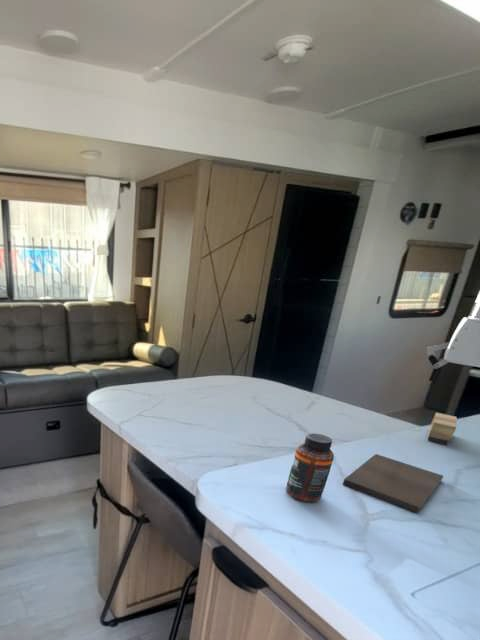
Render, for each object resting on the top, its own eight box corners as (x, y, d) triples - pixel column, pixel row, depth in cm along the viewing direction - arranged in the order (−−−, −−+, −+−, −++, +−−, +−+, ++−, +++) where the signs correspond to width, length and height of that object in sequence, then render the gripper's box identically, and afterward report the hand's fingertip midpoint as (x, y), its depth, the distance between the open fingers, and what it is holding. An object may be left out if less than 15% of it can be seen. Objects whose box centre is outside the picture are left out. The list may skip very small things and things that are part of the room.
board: (373, 458, 88) (375, 453, 88) (441, 481, 80) (443, 475, 80) (342, 484, 77) (344, 478, 77) (416, 513, 69) (419, 507, 69)
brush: (428, 429, 106) (436, 412, 104) (448, 433, 103) (456, 416, 101) (426, 440, 99) (434, 422, 97) (447, 445, 96) (456, 427, 94)
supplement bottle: (327, 497, 73) (346, 440, 68) (309, 507, 70) (328, 448, 65) (296, 482, 77) (312, 428, 72) (278, 491, 74) (293, 434, 69)
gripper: (545, 317, 86) (504, 394, 94) (443, 307, 96) (414, 378, 103) (550, 320, 81) (507, 401, 88) (442, 309, 90) (412, 383, 98)
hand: (457, 388), depth 96 cm, fingers open, 9 cm apart
